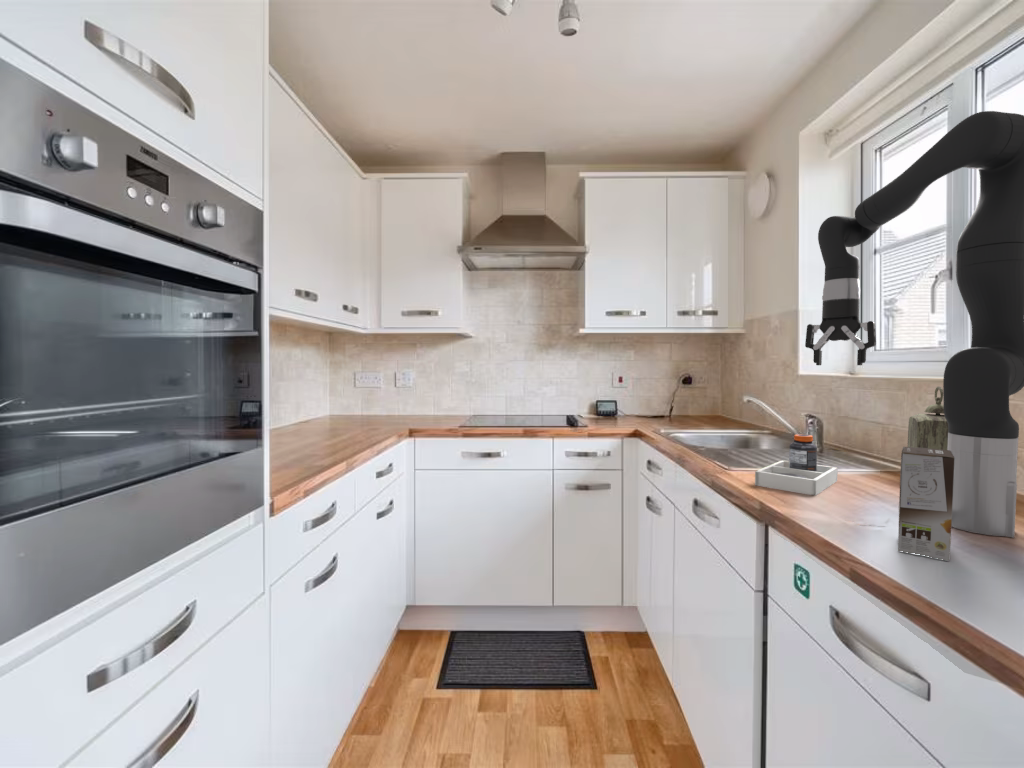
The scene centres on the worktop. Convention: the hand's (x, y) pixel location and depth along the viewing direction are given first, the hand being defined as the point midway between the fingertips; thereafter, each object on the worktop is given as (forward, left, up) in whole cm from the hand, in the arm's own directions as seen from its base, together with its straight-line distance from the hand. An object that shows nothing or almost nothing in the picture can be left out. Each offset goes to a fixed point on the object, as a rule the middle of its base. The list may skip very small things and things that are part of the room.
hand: (838, 365), depth 119 cm
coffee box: (-20, +39, -30) cm, 53 cm away
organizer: (+6, +9, -30) cm, 32 cm away
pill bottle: (+6, +4, -29) cm, 30 cm away
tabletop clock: (-17, -22, -30) cm, 41 cm away
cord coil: (+6, +14, -29) cm, 33 cm away
